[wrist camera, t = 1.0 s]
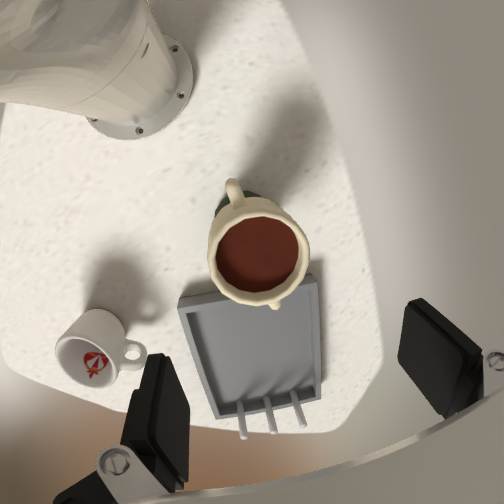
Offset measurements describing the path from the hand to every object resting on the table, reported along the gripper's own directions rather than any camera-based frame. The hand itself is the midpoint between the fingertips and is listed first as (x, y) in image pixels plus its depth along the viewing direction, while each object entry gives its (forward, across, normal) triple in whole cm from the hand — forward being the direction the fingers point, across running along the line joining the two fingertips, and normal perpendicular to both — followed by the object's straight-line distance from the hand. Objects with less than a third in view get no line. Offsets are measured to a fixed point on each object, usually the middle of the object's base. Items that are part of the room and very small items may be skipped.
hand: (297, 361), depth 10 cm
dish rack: (+23, +1, +18) cm, 29 cm away
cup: (+24, +19, +11) cm, 32 cm away
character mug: (+24, 0, 0) cm, 24 cm away
